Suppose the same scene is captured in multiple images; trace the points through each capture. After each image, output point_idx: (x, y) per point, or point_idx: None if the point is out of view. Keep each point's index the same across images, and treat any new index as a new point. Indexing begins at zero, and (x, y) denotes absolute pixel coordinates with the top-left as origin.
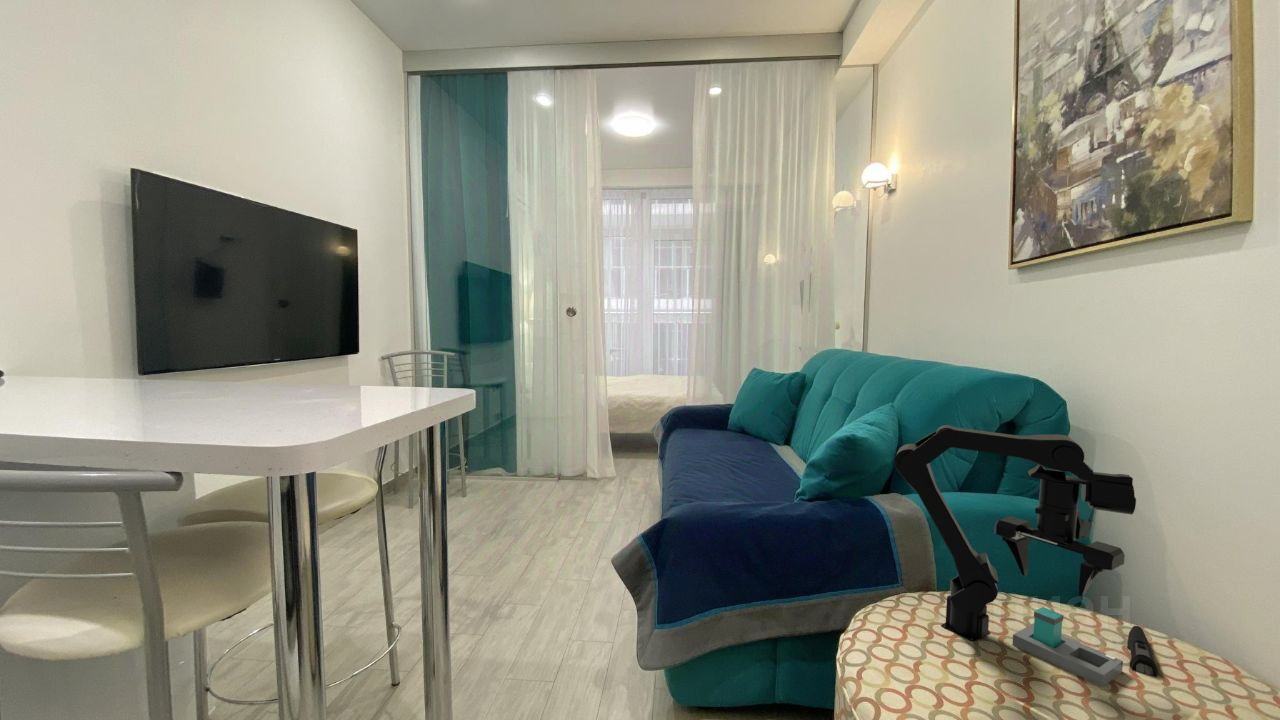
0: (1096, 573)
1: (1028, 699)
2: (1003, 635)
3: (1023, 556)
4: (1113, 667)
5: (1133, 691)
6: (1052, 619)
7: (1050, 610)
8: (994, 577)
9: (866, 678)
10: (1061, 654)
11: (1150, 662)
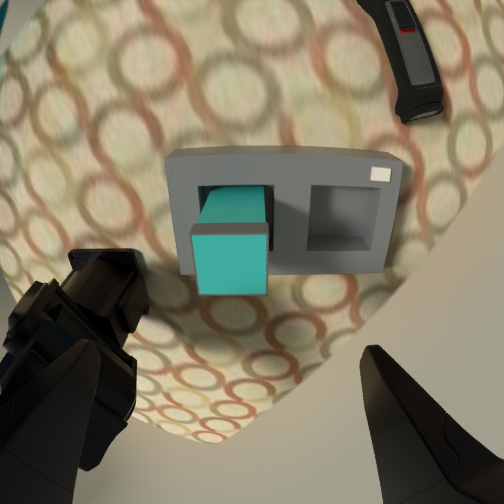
0: (472, 453)
1: (294, 368)
2: (145, 221)
3: (60, 449)
4: (393, 219)
5: (412, 207)
6: (259, 293)
7: (220, 236)
8: (106, 426)
9: (173, 432)
10: (295, 267)
11: (442, 107)
